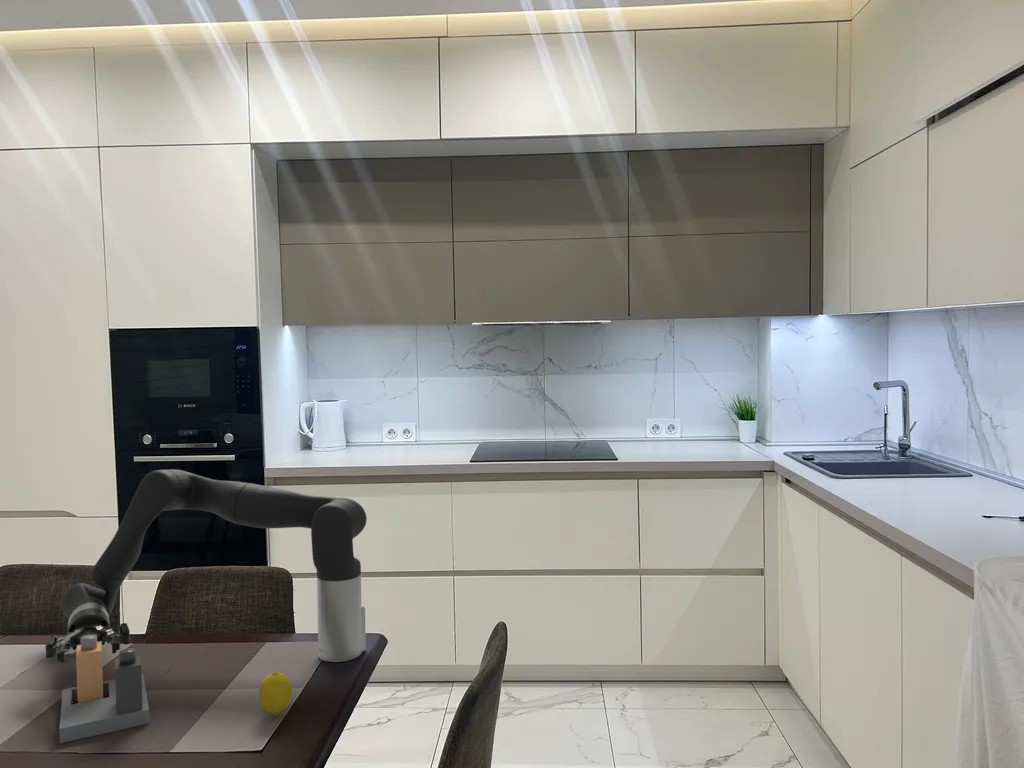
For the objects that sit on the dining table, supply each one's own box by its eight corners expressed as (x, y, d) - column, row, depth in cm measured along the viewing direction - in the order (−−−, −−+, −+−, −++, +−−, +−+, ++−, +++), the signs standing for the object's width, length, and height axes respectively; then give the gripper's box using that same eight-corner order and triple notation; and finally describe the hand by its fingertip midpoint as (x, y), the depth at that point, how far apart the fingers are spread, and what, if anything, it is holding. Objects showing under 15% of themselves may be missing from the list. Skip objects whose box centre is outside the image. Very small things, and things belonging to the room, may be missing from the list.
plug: (103, 698, 141) (101, 630, 141) (103, 709, 137) (101, 639, 136) (78, 703, 139) (76, 634, 139) (78, 714, 135) (75, 644, 134)
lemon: (295, 707, 137) (294, 664, 137) (287, 722, 131) (286, 677, 131) (265, 708, 137) (264, 665, 136) (255, 723, 131) (254, 678, 131)
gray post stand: (143, 686, 146) (141, 623, 146) (149, 723, 132) (147, 653, 131) (63, 702, 140) (61, 636, 139) (59, 743, 125) (57, 669, 124)
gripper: (47, 613, 152) (43, 640, 138) (126, 602, 159) (130, 626, 145) (49, 650, 152) (45, 680, 138) (127, 636, 159) (131, 664, 145)
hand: (88, 652), depth 141 cm, fingers open, 8 cm apart
